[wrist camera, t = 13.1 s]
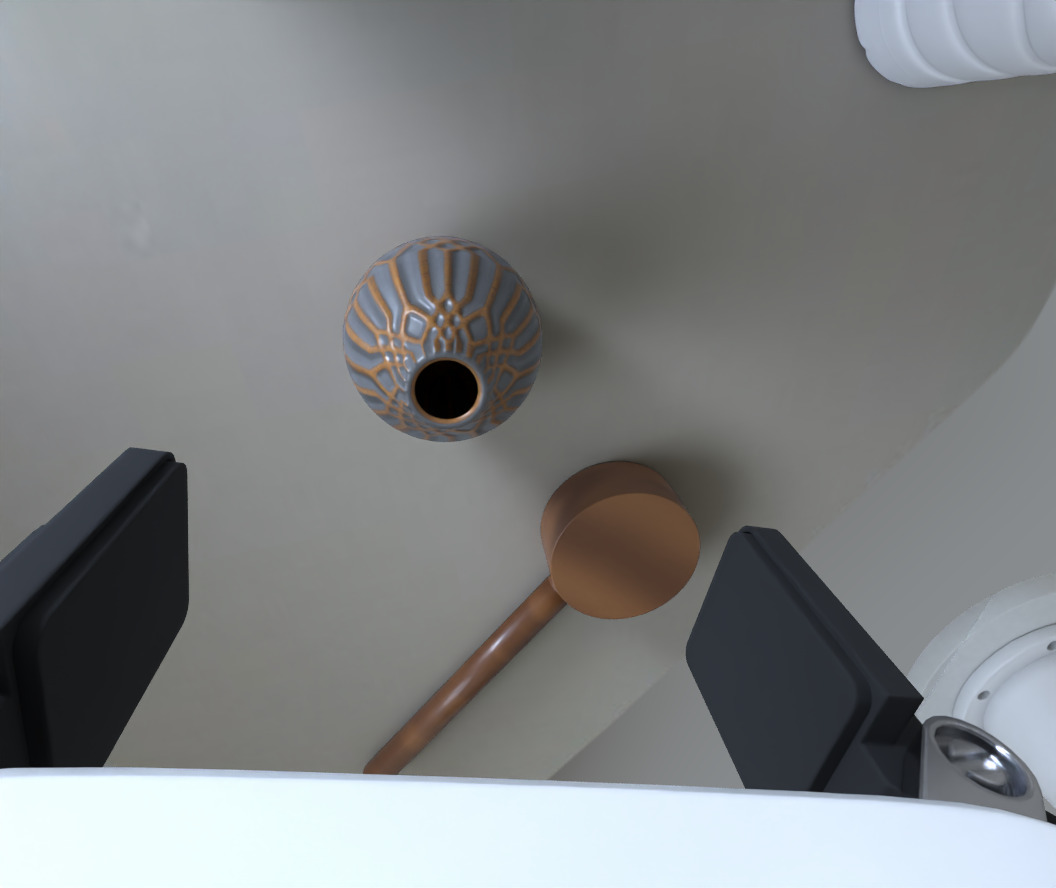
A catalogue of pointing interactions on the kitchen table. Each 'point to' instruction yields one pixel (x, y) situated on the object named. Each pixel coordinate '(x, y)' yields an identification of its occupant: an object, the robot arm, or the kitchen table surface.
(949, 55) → the water bottle
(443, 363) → the vase
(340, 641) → the kitchen table surface
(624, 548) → the ladle
